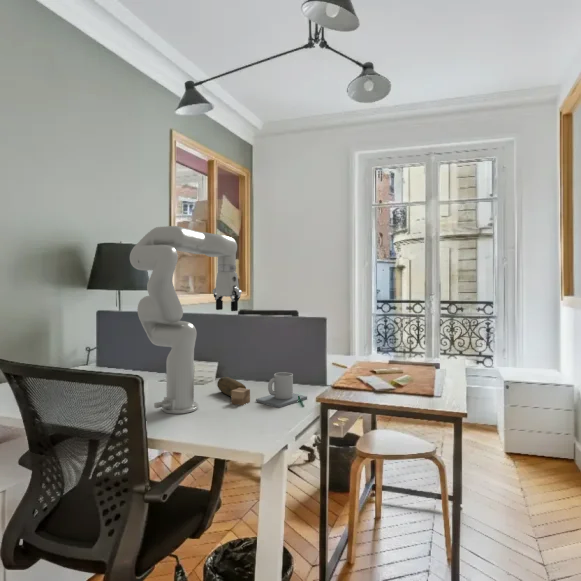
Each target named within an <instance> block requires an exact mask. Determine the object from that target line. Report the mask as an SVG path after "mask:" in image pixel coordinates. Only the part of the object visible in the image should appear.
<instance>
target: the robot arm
mask: <svg viewBox="0 0 581 581" xmlns="http://www.w3.org/2000/svg"><path fill="white" fill-rule="evenodd" d="M237 250H238V244H237V241H236V240H235V238H233V237H230V236H227V235H224V234H223V235H222V234H218V233H217V234H216V233H212V232H211V233H210V232H205V231H199V230H198V231H197V230H194V229H190V228H187V227H184V226H183V227H182V226H180V225H179V226H177V225H170V226H169V225H167V226H156V227H154V228H152V229H150V230H149V231H148V232H147V233H146V234H145V235H144V236H143V237H142V238H141V239H140V240H139V241H137V243H136V244H135V245H134V246H133V248H132V249H131V251H130V254H129V261H130V264H131V266H132V267H133V268H134V269H136V270H138V271H151V274H150V276H149V279H148V281H147V286H146V289H147V290H146V291H147V294H148V295H147V296H144V297H142V298H141V299H140V300H139V302H138V303H137V316H138V319H139V321H140V323H141V326H142V327H143V330H144V332H145V333H146V336H147V338H148V340H149V341H150V342H151V343H152V345H154V346H156V347H157V346H158V347H166V348H170V349H171V350H170V351H169V352H168V354H167V357H166V364H165V366H166V396H165V397H163V400H161V401H158V402H155V403H154V404H153V407H154V409H158V408H161V410H162V411H163V413H167V414H179V415H180V414H187V413H188V414H189V413H192V412H195V411H197V409H199V404H198V402H195V392H194V391H195V387H194V386H195V384H194V383H195V380H194V379H195V378H194V377H195V375H194V374H195V371H194V370H195V369H194V367H195V366H194V365H195V362H194V359H195V346H196V341H197V336H198V334H197V329H196V327H195V325H194V324H193V323H192V322H189V321H185V320H181V319H182V318H183V316H184V310H183V307H182V305H181V304H182V303H181V301H180V299H179V297H178V293H177V292H176V290H175V287H174V283H173V280H174V279H173V277H174V274H175V270H176V266H177V264H178V260H179V256H178V255H179V254H178V252H184V253H188V254H194V255H205V256H207V257H209V258H210V257H211V258H217V273H216V279H215V280H216V281H215V288H214V289H212V294H213V298H214V300H215V310H217V311H222V310H223V309H224V306H223V305H224V304H223V298H224V297H225V298H226V297H227V298H228V297H230V299H231V301H230V311H231V312H238V310H239V309H238V308H239V304H238V303H239V301H240V298H241V295H242V293H243V292H242V290H241V289H240V288H239V287H240V286H239V277H238V274H237V272H236V271H237V270H236V269H237V267H236V266H237V265H236V264H237V262H236V261H237V260H236V259H237V258H236V256H237V255H236V254H237ZM177 251H178V252H177Z"/></svg>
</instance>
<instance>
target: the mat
mask: <svg viewBox="0 0 581 581" xmlns="http://www.w3.org/2000/svg"><path fill="white" fill-rule="evenodd" d="M298 396H300V399H301V400H302V401H305V400H308V396H307V395H302V394H297V393H294V392H293V397H292V398H291V399H287V400H280V399H276V398H275V397H274V395H271V394H269V395H266V396H262V397H259V398H256V399H255V402H256V401H257V402H256V403H259V402H260V403H259V404H263V403H264V404H263V405H267V404H268V405H267V406H270V405H271V406H270V407H274V408H278V409H279V408H284V407H286V406H289V405H292V404H296V403H298V402H297V401H298Z"/></svg>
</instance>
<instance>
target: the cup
mask: <svg viewBox="0 0 581 581" xmlns="http://www.w3.org/2000/svg"><path fill="white" fill-rule="evenodd" d="M273 384H274V385H273ZM273 386H274V388H273ZM267 389H268V390H267V391H268V393H269V395H274V397H275V398H276V399H280V400H287V399H291V398H292V397H293V393H294V374H293V373H291V372H285V371H284V372H282V371H281V372H276V373H274V374H273V377H272V378H270V379H269V381H268V385H267Z"/></svg>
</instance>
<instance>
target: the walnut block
mask: <svg viewBox="0 0 581 581" xmlns="http://www.w3.org/2000/svg"><path fill="white" fill-rule="evenodd" d="M246 403H247V404H249V403H251V389H249V388H246V389H244V388H237V389H235V390H232V397H231V404H232V405H236V404H239V405H238V406H245V405H247V404H246ZM244 404H245V405H244Z"/></svg>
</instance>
